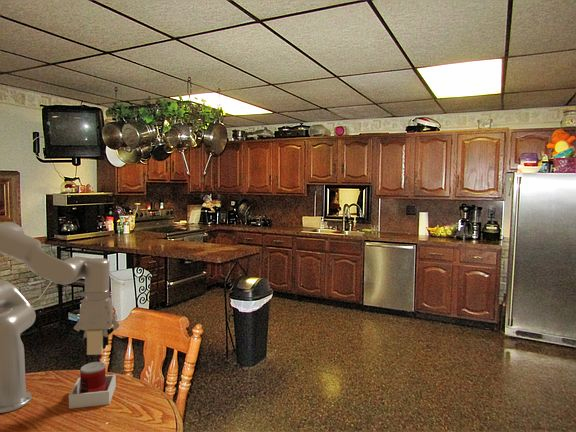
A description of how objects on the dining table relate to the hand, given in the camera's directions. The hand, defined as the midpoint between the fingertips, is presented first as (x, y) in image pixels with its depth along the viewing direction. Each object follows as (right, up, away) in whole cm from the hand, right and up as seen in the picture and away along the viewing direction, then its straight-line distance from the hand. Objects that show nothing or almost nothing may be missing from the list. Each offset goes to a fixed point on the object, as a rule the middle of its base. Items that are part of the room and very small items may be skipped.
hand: (96, 346), depth 137 cm
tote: (-3, -18, +3) cm, 19 cm away
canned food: (-3, -19, +3) cm, 19 cm away
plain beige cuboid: (0, -1, 0) cm, 1 cm away
